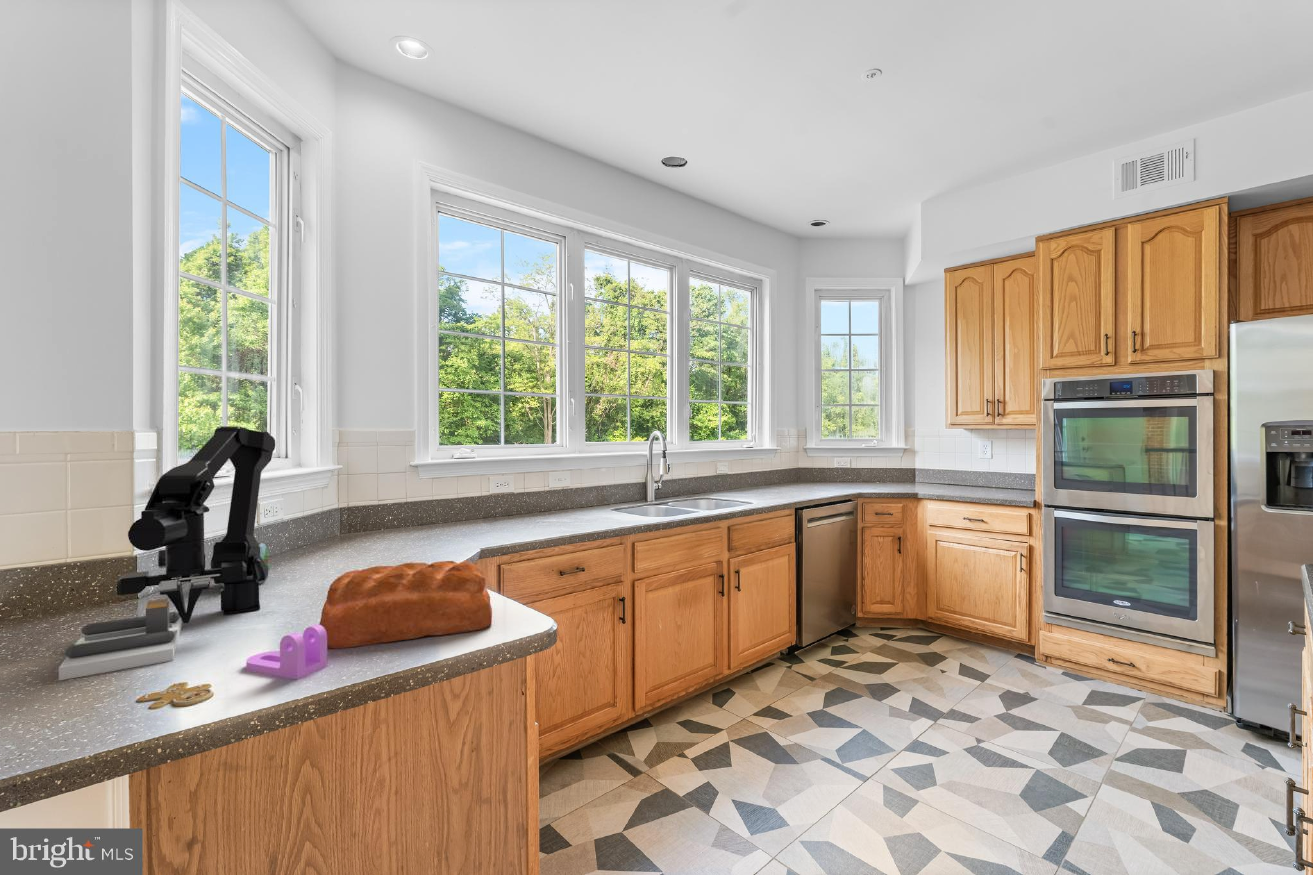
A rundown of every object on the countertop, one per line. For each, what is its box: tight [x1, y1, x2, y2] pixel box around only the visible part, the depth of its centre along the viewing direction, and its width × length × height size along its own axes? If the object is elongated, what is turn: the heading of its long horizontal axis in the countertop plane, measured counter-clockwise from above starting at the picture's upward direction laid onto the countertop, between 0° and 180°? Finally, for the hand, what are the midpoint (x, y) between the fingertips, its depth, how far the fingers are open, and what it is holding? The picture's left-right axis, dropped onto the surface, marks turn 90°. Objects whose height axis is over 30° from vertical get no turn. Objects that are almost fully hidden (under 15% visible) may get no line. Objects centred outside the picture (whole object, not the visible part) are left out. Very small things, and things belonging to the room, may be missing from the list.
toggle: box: [145, 597, 170, 634], centre depth 109 cm, size 3×4×6 cm
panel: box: [58, 611, 183, 681], centre depth 107 cm, size 14×22×4 cm, turn 35°
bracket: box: [245, 623, 328, 680], centre depth 99 cm, size 13×6×7 cm, turn 71°
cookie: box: [135, 681, 215, 710], centre depth 89 cm, size 8×1×10 cm
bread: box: [319, 560, 493, 649], centre depth 118 cm, size 16×31×13 cm, turn 112°
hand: (186, 622), depth 112 cm, fingers closed
